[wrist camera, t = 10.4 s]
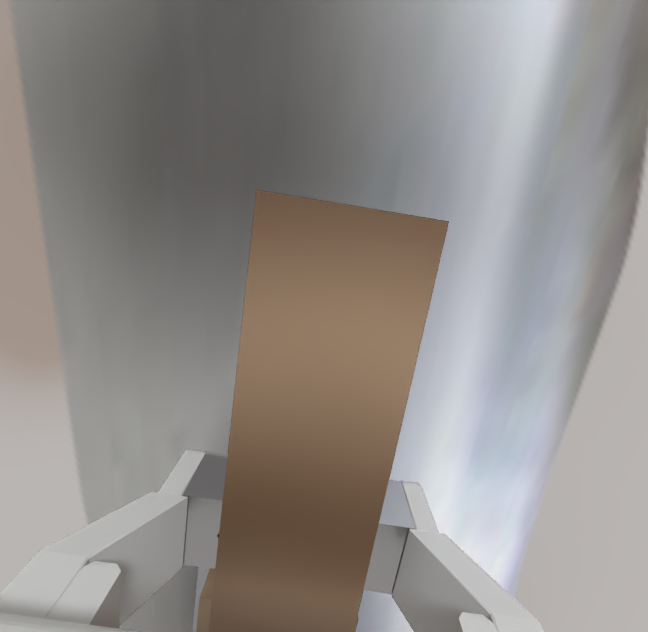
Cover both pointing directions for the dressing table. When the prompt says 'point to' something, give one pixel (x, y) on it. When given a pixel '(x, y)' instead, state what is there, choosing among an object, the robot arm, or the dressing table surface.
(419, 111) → the dressing table surface
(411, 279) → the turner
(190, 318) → the dressing table surface
